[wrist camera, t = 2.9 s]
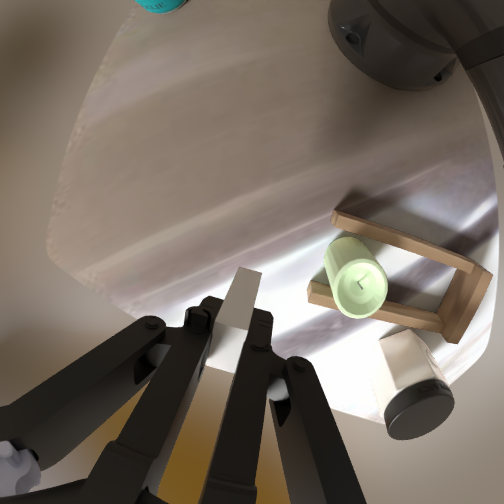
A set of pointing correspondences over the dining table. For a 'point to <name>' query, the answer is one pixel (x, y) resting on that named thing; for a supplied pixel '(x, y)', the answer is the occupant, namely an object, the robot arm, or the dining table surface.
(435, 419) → the jar
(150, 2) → the beverage can
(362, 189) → the dining table surface
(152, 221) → the dining table surface
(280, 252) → the dining table surface
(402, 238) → the channel
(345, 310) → the candle
